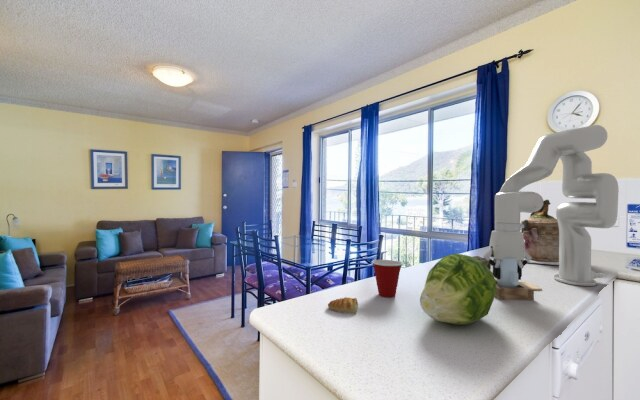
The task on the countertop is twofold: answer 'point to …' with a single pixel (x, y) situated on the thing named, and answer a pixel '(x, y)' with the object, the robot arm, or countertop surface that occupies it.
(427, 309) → the lettuce
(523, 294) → the cradle
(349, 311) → the pastry
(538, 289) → the mat
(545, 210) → the cookie jar
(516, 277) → the pale blue pipe tee
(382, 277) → the plastic cup
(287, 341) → the countertop surface
